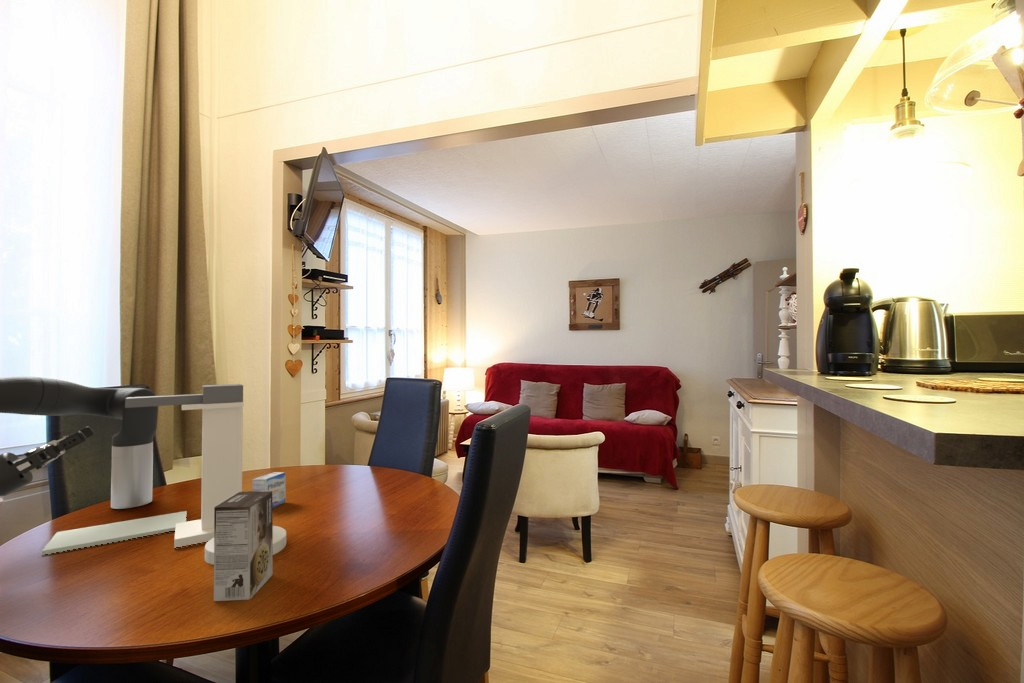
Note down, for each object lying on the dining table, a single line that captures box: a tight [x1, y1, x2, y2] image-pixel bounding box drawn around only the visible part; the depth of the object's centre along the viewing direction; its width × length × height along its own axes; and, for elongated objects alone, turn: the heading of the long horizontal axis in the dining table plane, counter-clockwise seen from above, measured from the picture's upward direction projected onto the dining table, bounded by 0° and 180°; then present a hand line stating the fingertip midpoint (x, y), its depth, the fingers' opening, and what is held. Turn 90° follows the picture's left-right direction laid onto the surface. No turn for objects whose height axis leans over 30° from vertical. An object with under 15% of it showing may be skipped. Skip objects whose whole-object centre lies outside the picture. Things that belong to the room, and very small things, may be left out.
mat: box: [41, 510, 188, 556], centre depth 110 cm, size 13×25×1 cm, turn 125°
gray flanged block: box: [125, 383, 244, 408], centre depth 108 cm, size 8×22×4 cm, turn 125°
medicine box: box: [252, 471, 286, 509], centre depth 129 cm, size 8×4×9 cm, turn 168°
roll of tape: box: [204, 525, 287, 566], centre depth 100 cm, size 16×15×3 cm
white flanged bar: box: [173, 401, 244, 549], centre depth 110 cm, size 12×14×31 cm
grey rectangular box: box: [213, 490, 274, 602], centre depth 84 cm, size 9×6×16 cm
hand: (88, 432), depth 98 cm, fingers open, 8 cm apart
